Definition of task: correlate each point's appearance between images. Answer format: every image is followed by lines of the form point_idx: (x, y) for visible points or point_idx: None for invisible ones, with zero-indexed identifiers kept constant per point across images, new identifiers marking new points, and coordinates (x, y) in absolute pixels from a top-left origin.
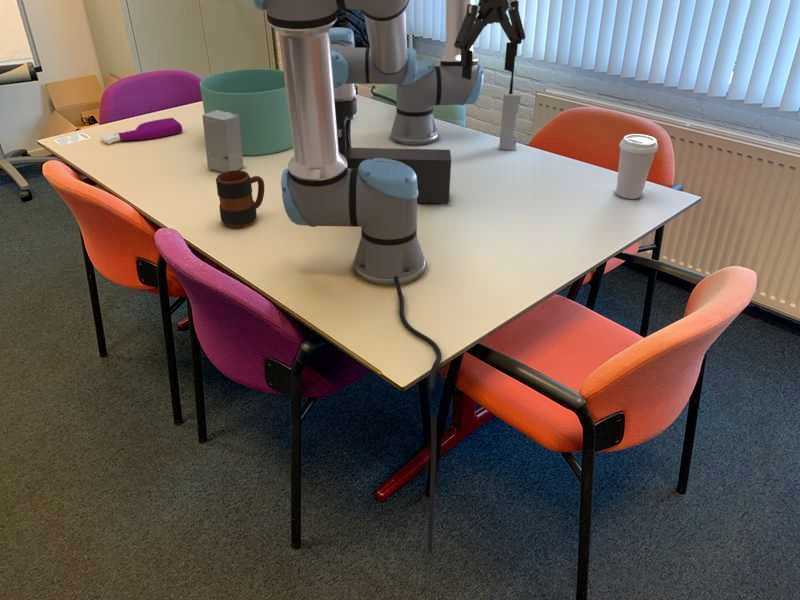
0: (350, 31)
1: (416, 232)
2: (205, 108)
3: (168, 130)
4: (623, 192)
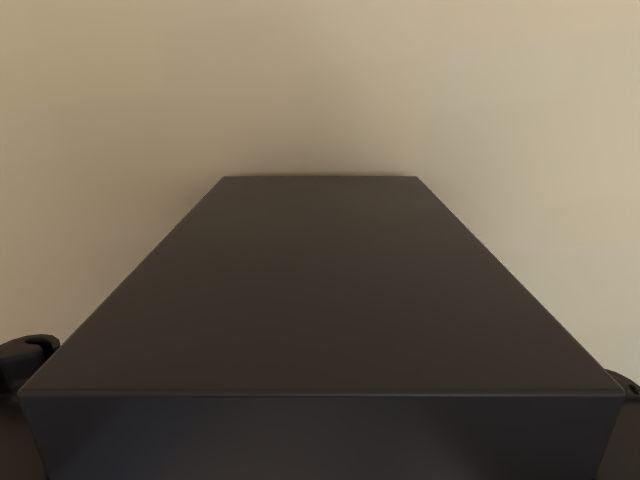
0: None
1: None
2: None
3: None
4: None
